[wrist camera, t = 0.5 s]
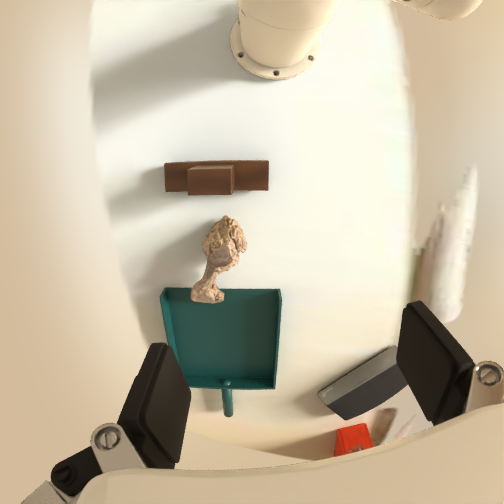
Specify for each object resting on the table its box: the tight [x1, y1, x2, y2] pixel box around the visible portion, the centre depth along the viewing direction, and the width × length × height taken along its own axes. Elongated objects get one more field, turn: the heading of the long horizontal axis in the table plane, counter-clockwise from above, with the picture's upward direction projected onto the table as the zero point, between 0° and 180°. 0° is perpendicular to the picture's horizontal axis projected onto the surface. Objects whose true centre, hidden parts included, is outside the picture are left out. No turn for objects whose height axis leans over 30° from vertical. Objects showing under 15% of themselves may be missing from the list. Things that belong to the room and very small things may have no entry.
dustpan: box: [160, 288, 282, 417], centre depth 50 cm, size 31×19×3 cm, turn 0°
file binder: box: [334, 423, 373, 457], centre depth 50 cm, size 8×17×32 cm, turn 8°
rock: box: [191, 216, 247, 304], centre depth 41 cm, size 6×14×7 cm, turn 158°
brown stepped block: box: [164, 160, 269, 195], centre depth 36 cm, size 4×14×9 cm, turn 90°
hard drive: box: [318, 345, 408, 420], centre depth 53 cm, size 13×19×4 cm
